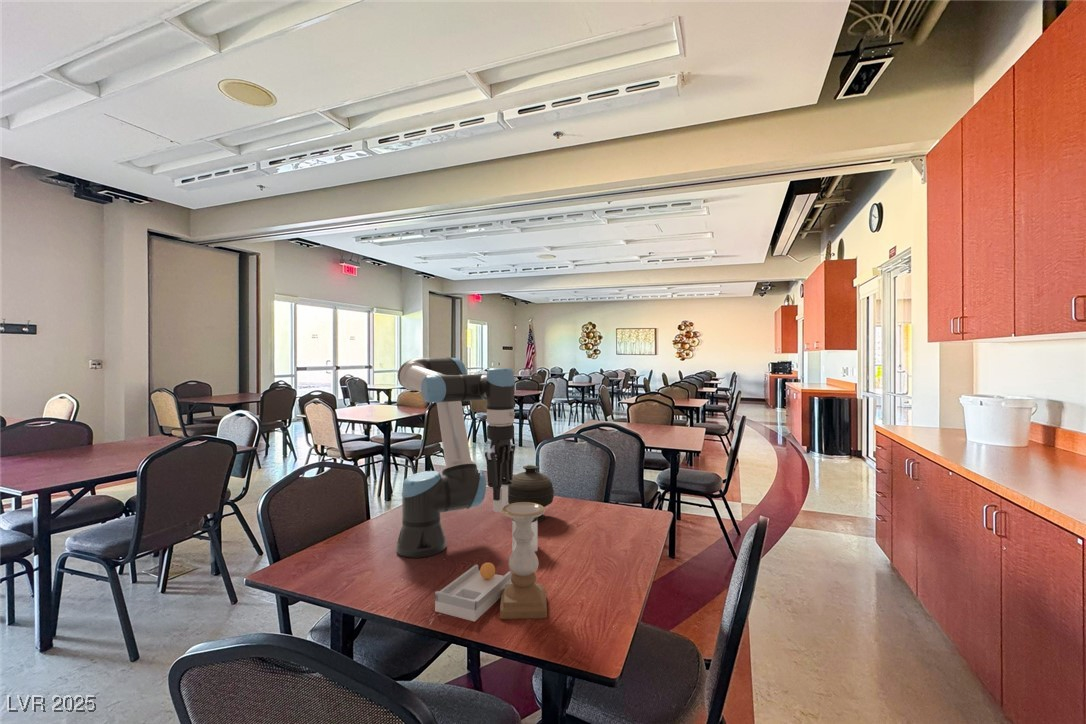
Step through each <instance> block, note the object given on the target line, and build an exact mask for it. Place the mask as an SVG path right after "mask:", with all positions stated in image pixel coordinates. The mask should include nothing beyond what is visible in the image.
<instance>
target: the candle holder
mask: <svg viewBox="0 0 1086 724" xmlns="http://www.w3.org/2000/svg"><path fill="white" fill-rule="evenodd" d="M502 511H503V512H502V514H503V515H504V516H505V517H507V518H510V519H512V518H513V520H514V521H515V523H516V530H515V532H514V533H513V537H514V538H515V540H516V542H517V545H516V548H515V550H514V552H513V551H512V553H511V554H510V557H509V559H508V562H507V563H508V568H509V571H510V572H512V576H511V582H512V584H506V585H505V589H503V590H502V595H501V598H500V605H499V606H500V607H499V618H500V620H534V619H537V620H538V619H541V620H542V619H546V618H547V617H548V610H547V609H548V608H547V607H548V606H547V605H548V604H547V594H546V593H547V592H546V588H545V587H543V585H542V583H536V581H537V576H536V574H535V572H536V571H537V570H538V567H539V563H540V562H539V558H538V556H537V554H536V552H534V551H533V549H532V547H531V545H530V543H531V540H532V538H533V537H534V532H533V531H532V529H531V522H532V521H533V520H534V518H536V517H539V516H541V515H542V514H543V515H544V513H545V507H543V506H542V505H540V504H537V503H531V502H518V503H512V504H509V503H508V505H506V506H504V508H503V510H502Z"/></svg>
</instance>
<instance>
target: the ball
mask: <svg viewBox="0 0 1086 724" xmlns="http://www.w3.org/2000/svg"><path fill="white" fill-rule="evenodd" d="M479 571H480V574H481V576H482V577H483V578H484V579H490V578H492V577H493V576H494V574H496V567H495V565H494V564H493V563H492V562H484V563H483V564H481V566H480V569H479Z"/></svg>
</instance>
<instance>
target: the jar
mask: <svg viewBox="0 0 1086 724" xmlns="http://www.w3.org/2000/svg"><path fill="white" fill-rule="evenodd" d="M537 519H538V517H536V518H534V520H533V521H532V522H531V529H532V531H533V532H534V537H533V538H532V540H531V543H530V545H531V547H532V549H533V551H534V553H536V552H538V538H539V537H538V535H539V534H538V533H539V532H538V521H537ZM511 521H512V524H511V525H512V526H511V528H512V529H511V531H512V532H511V535H512V536H511V539H512V542H511V544H512V545H511V547H512V549H511V550H512V551H511V552H512V553H513V552H514V550H515V548H516V545H517V542H516V540H515V538H514V537H513V533H514V532H515V530H516V523H515V521H514V520H513V518H511Z"/></svg>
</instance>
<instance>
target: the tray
mask: <svg viewBox="0 0 1086 724" xmlns="http://www.w3.org/2000/svg"><path fill="white" fill-rule="evenodd" d="M512 574H513V572H512V571H511V570H508V572H506V573H505V574H504V575H501V574H496V573H495V574H494V576H493V577H492V578H490V579H484V578H483V577H482V576H481V574H480V570H479V565H478V564H474V565H473V566H472V567H471V568H469V569H468V570H466V571H465V572H463V573H462V574H461V575H460V576H458V577H456V578H455V579H454V580H453V581H451V582H450V583H449V584H447V585H445V586H444V587H443V588H442V589H440V590H437V591H435V592H434V612H437V613H440V614H445V615H448V616H452V617H456V618H460V619H463V620H466V621H472V622H476V621H477V620H478V619H480V617H481V616H483V615H484V614H485V613H486V612H487V611H488V610H489V609H490V608H491V607H492V606H493V605H494V604H495V603H496V602H497V601H499V600H500V599H501V595H502V590H503V589H505V585H506V584H513V583H512V582H511V576H512Z"/></svg>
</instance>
